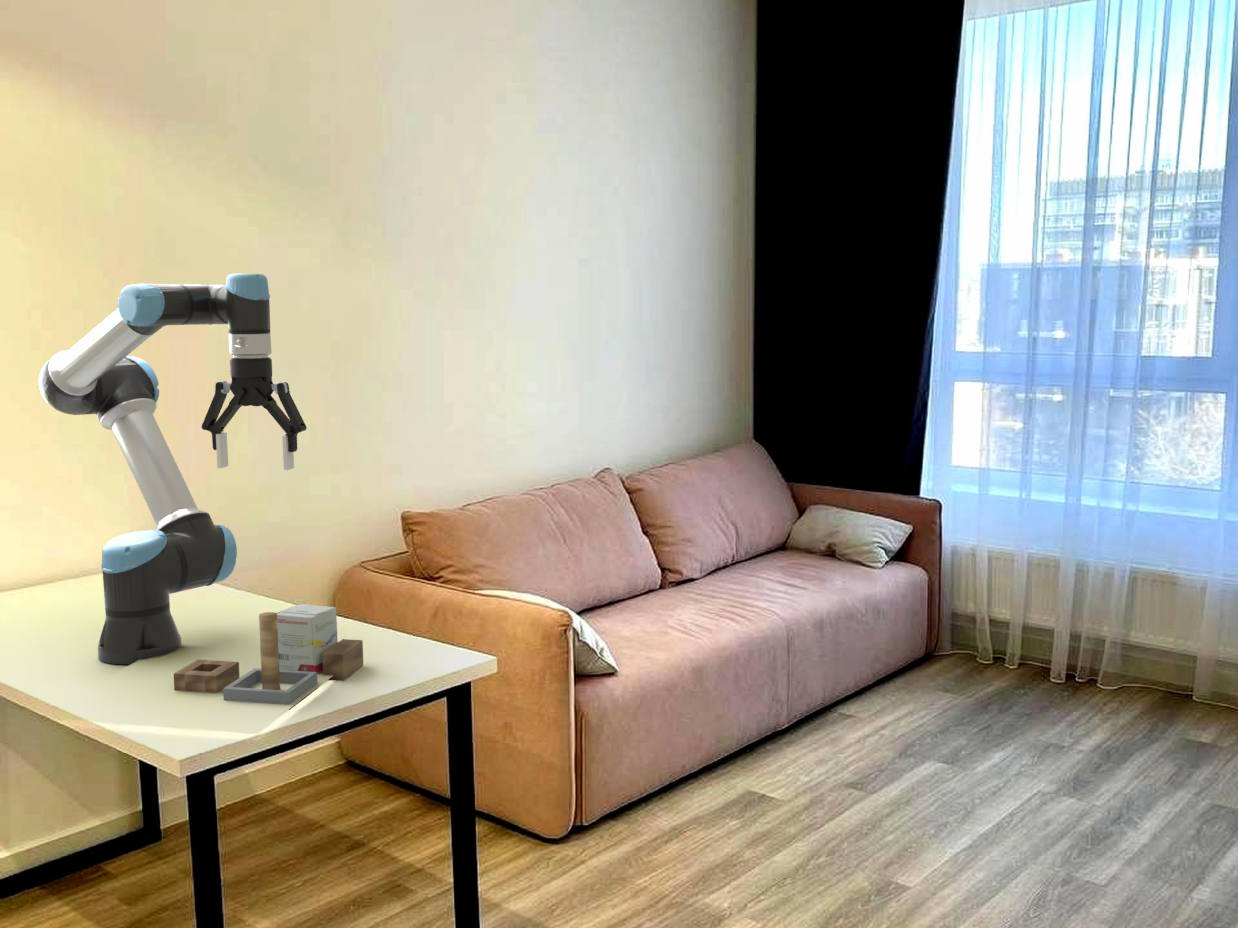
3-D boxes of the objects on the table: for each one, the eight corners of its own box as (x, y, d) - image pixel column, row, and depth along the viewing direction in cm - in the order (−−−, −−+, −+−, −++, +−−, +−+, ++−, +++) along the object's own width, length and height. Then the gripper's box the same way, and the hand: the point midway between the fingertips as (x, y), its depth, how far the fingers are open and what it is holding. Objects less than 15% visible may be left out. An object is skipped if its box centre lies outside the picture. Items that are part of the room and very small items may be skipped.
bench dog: (323, 679, 210) (322, 653, 209) (343, 664, 219) (342, 639, 218) (343, 681, 209) (342, 654, 209) (363, 665, 218) (362, 640, 217)
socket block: (174, 695, 202) (173, 673, 201) (199, 680, 210) (197, 659, 209) (216, 698, 200) (215, 676, 200) (239, 683, 208) (238, 661, 208)
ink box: (340, 666, 218) (338, 605, 216) (314, 680, 210) (311, 617, 208) (301, 661, 221) (298, 601, 219) (274, 675, 213) (271, 613, 211)
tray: (223, 705, 197) (223, 688, 196) (255, 684, 208) (254, 668, 207) (289, 709, 195) (288, 692, 194) (317, 688, 205) (317, 672, 205)
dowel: (267, 688, 203) (264, 611, 201) (283, 689, 202) (280, 612, 200) (259, 694, 200) (255, 616, 198) (275, 695, 199) (271, 617, 197)
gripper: (179, 356, 216) (185, 469, 219) (303, 358, 211) (308, 472, 214) (200, 355, 223) (206, 463, 226) (321, 356, 218) (325, 467, 221)
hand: (255, 468), depth 220 cm, fingers open, 13 cm apart
